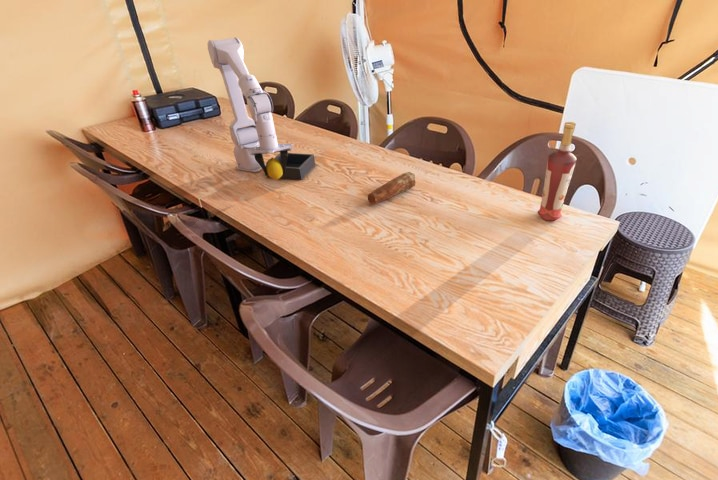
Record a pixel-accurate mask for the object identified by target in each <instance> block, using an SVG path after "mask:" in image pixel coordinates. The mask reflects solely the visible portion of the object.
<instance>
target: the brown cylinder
mask: <svg viewBox="0 0 718 480" xmlns="http://www.w3.org/2000/svg"><path fill="white" fill-rule="evenodd" d="M415 179H416V175H415V173H413V172H411V171H406V172H404V173H401V174H400V175H398V176H396V177H394V178H392V179H391V180H389V181H387V182H385V183H384V184H382V185H381V186H379V187H377V188H376V189H374V190H372V191H371V192H369V193H368V194H367V201H368V203H369V204H370V205H377V204H378V203H381V202H383V201H386V200H388V199H390V198H392V197H395V196H397V195H399V194H401V193H403V192H406V191H408V190H411V189H412V188H414V187H415V186H416V180H415Z"/></svg>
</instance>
